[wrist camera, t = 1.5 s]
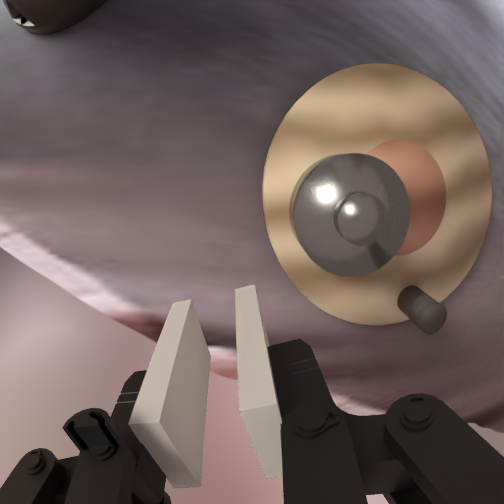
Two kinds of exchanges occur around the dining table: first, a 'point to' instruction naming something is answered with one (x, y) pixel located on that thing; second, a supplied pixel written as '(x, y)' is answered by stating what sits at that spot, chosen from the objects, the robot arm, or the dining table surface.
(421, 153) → the turntable
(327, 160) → the cover
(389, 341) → the dining table surface
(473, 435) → the robot arm
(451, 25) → the dining table surface
